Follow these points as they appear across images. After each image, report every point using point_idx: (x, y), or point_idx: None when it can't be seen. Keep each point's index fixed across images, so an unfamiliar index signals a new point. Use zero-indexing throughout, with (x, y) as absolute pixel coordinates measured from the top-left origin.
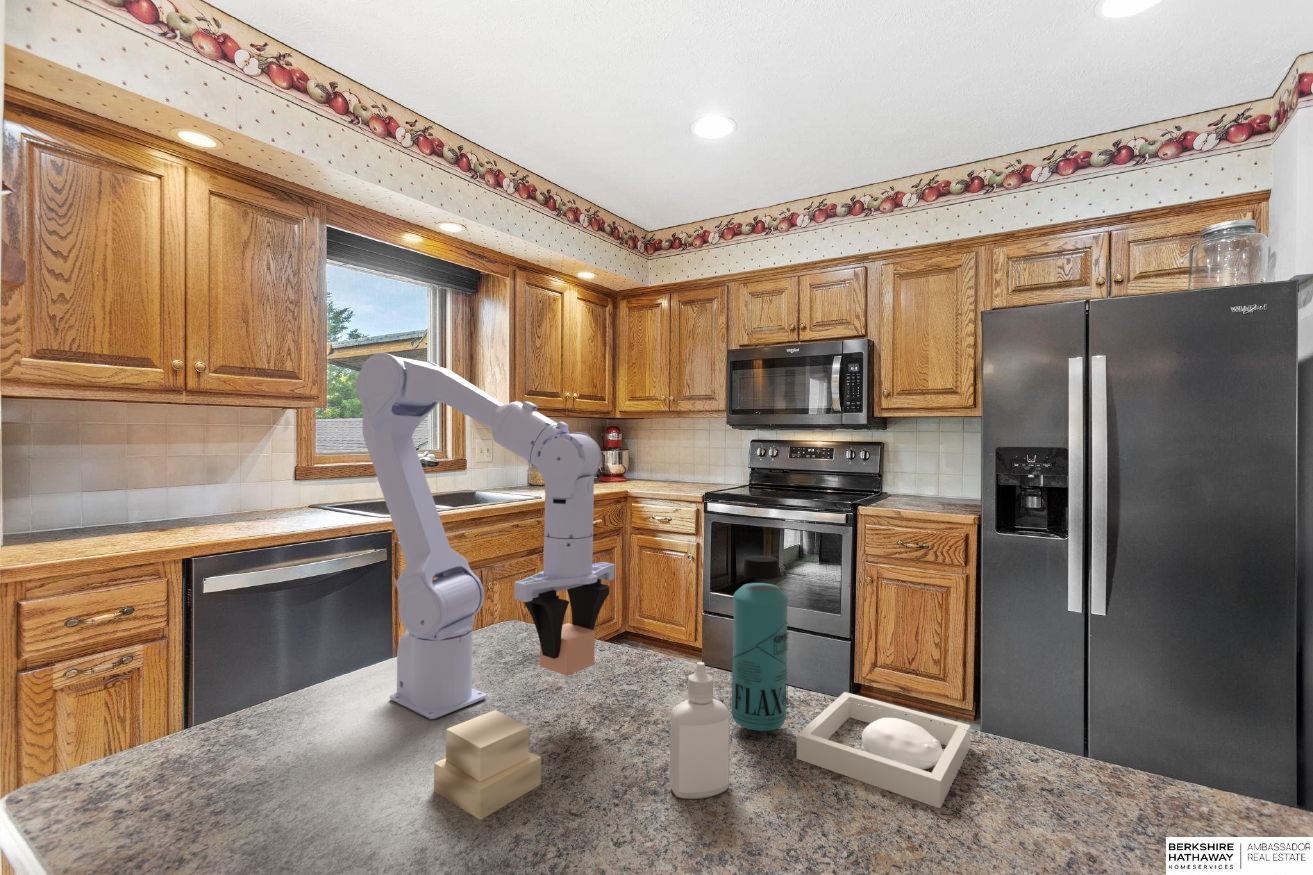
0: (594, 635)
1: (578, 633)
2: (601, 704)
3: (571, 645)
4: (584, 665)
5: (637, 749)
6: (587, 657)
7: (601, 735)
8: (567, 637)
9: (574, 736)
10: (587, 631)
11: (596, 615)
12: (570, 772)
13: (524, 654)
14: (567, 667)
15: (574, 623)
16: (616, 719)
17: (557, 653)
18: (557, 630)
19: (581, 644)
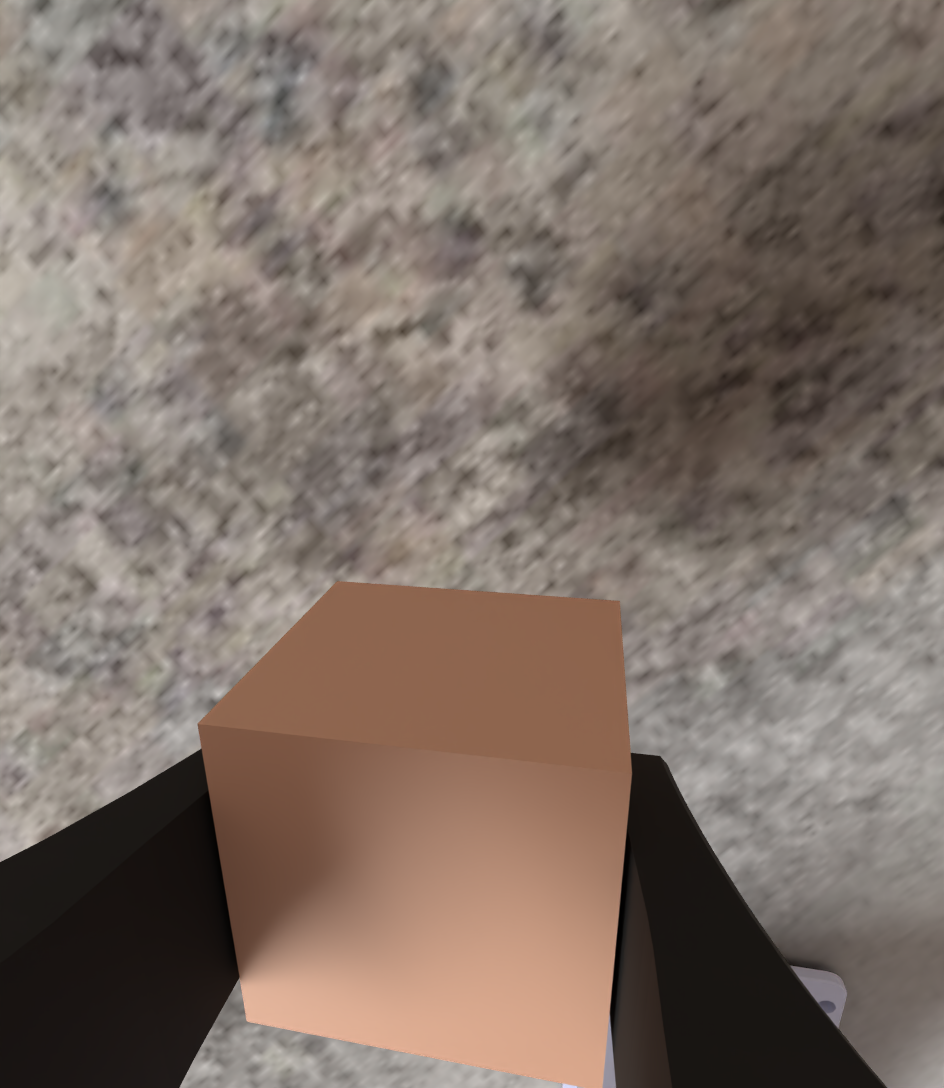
0: (229, 696)
1: (380, 804)
2: (302, 551)
3: (570, 718)
4: (431, 597)
5: (520, 91)
6: (385, 617)
7: (520, 348)
8: (557, 823)
9: (604, 444)
10: (270, 769)
11: (18, 871)
12: (901, 208)
13: (217, 1037)
14: (615, 627)
15: (224, 972)
16: (359, 399)
17: (646, 769)
18: (743, 958)
19: (428, 689)
